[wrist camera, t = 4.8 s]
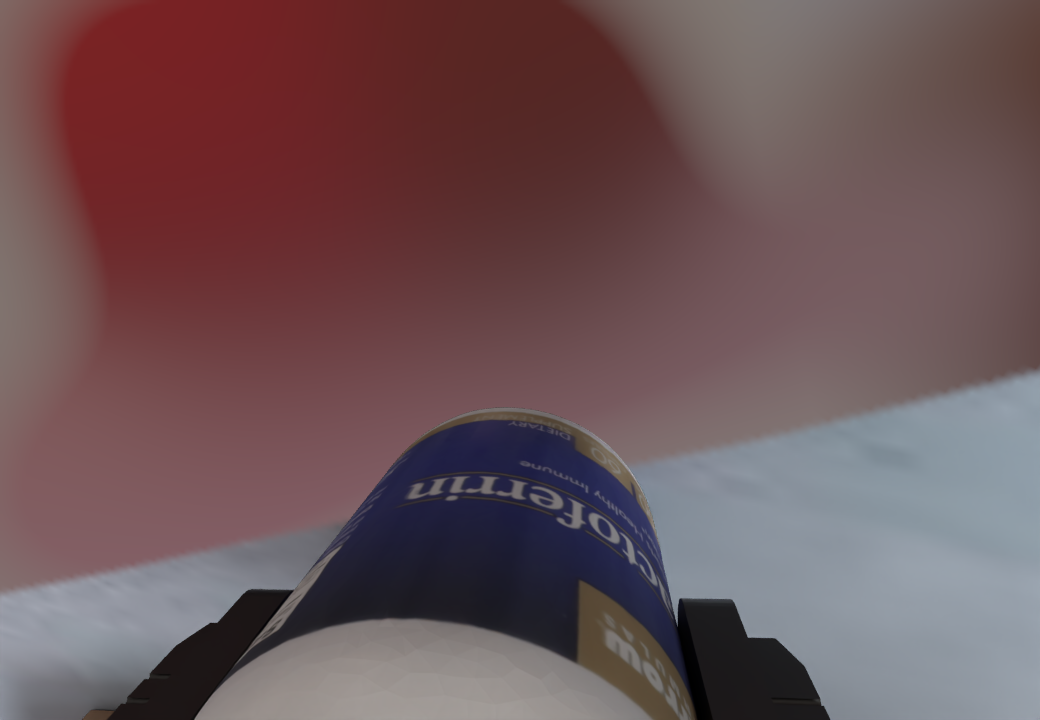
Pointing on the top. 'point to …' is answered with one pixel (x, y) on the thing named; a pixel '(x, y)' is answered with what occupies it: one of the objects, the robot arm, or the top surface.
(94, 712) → the socket block
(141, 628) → the top surface
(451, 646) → the pill bottle
